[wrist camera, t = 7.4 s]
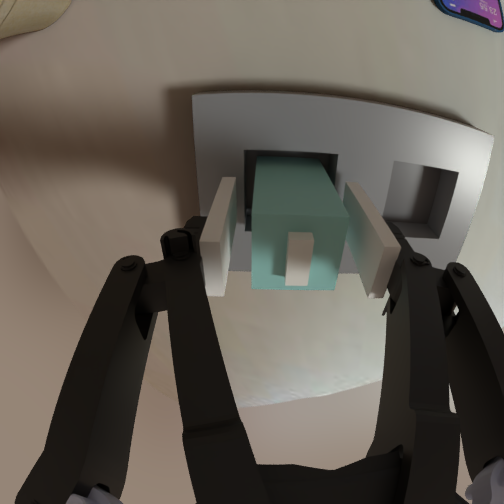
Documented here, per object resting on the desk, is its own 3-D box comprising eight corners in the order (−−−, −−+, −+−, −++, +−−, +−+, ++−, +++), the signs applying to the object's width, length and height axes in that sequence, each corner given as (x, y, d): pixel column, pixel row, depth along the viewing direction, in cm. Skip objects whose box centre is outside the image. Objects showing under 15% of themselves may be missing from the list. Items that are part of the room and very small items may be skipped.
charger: (256, 156, 18) (250, 220, 11) (318, 158, 18) (353, 224, 11) (256, 210, 20) (251, 297, 13) (313, 212, 20) (336, 298, 13)
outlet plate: (201, 91, 16) (191, 94, 14) (475, 127, 15) (494, 136, 13) (211, 250, 23) (206, 269, 21) (438, 256, 22) (450, 273, 20)
